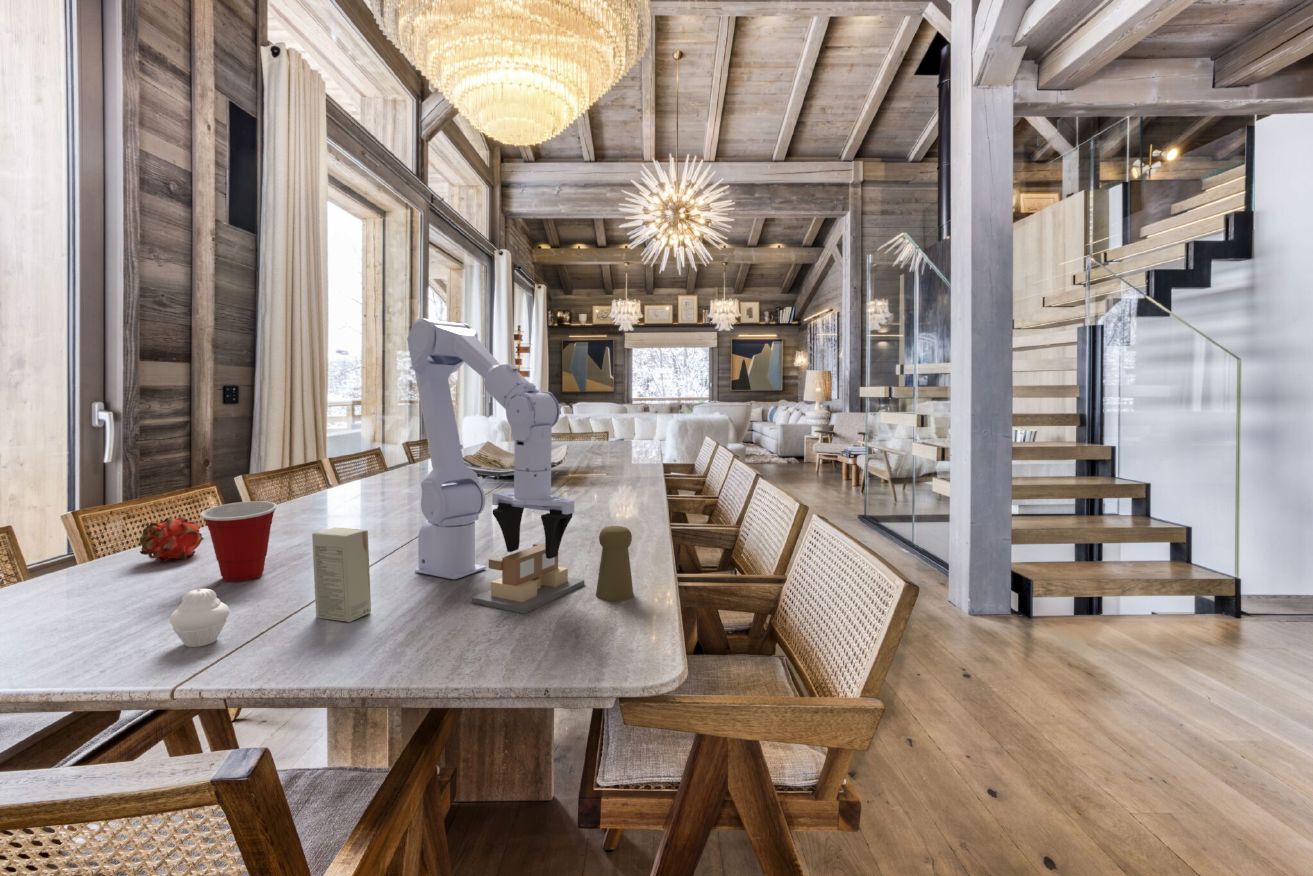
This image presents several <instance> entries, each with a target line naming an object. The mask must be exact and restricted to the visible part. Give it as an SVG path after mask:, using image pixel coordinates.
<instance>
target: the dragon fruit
mask: <svg viewBox="0 0 1313 876" xmlns="http://www.w3.org/2000/svg"><path fill="white" fill-rule="evenodd" d="M202 540H203V541H204V540H205V538H204V537H203V534H202V533H201V532H200V526H199V524H198V522H197V521H189V520H188V519H187V518H186V517H185V516H179V517H177V518H176V519H174V518H170V517H166V518H165V519H163V520H160V521H159V522H158V521H153V522H150V523H149V524H148V525H147V526H145V528H143V531H142V533H141V535H140V537H139V544H140V545H141V550H139V552H140V554H142V555H146V556H148V557H149V559H155V560H156V561H158V562H160V563H166V562H167V561H168V560H169V559H176V560H179V559H182V560H185V559H186V558H188V557H193V556H194V555H195V554H196V549H198V547H199V546H200V545H201V542H202Z"/></svg>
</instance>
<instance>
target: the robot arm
mask: <svg viewBox="0 0 1313 876" xmlns="http://www.w3.org/2000/svg"><path fill="white" fill-rule="evenodd" d="M478 336H479V335H478V332H477V331H476V330H475V329H473V327H471V325H470V324H468V323H465V322H460V323H459V322H449V321H443V320H442V321H441V320H432V319H428V318H424V317H422V318H418V319H417V320H415V321H414V323H413V324H412V326H411V329H410V331H409V333H408V336H407V338H406V339H407V345H408V350H409V356H410V362H411V367H412V370H413V371H414V373H415V380H416V386H417V391H418V395H419V402H420V407H421V413H422V417H423V419H422V420H423V425H424V430H425V436H426V440H427V445H428V450H429V451H428V452H429V456H430V461H431V468H432V470H431V471H430V472H429V474H428V475H426V477H425V478H423V479H422V481H421V482H420V488H421V499H420V509H421V512H422V514H423V516H424V519H425V520H427V521H426V522H424V523H423V524H422V526H421V527H420V529H419V533H418V539H417V541H418V542H417V545H418V547H417V548H418V550H417V551H418V567H417V568H415V569H414V572H415V573H419V574H424V575H430V576H434V577H438V578H439V577H441V578H445V579H450V580H458V579H460V578H463V577H466V576H469V575H472V574H475V573H477V572H480V571H483V570H486V568H487V566H486V565H483V564H477V563H476V521H479V515H481V513H483V512H484V509H485V505H486V494H485V491H484V489H483V487H482V486H481V484H480V481H479V477H478V474H477V472H475V470H473V469H471V468H470V467H468V466H467V465H466V464H465V462H464V457H463V451H462V447H461V441H460V436H459V429H458V426H457V424H458V423H457V420H456V419H457V418H456V415H455V408H454V405H453V404H454V403H453V400H452V399H453V398H452V393H451V392H452V391H451V388H450V382H449V379H450V376H451V375H452V374H454V373H455V372H457V371H458V370H459V369H460V368H461V366H462V365H463V364H464V363H465V364H466V365H468V367H470V368H471V369H472V370H473V371H474V372H476V373H477V374H478V375H479V376H481V377H482V378H483V379H484V381H483V385H484V389H485V390H486V392H487V393H488V394H489V395H490V396H491V397H492V398H493V399H494V400H495V401H497V403H498V404H499V405H500V406H502V407H503V408H504V410H505V415H506V420H507V423H508V425H509V426H510V431H511V434H510V435H511V436H510V437H512V440H513V441H514V449H513V451H514V453H513V454H514V455H513V456H514V457H513V458H514V460H513V461H514V462H513V463H514V466H513V467H514V469H513V486H514V487H513V491H512V492H511V491H509V492H508V491H496V492H493V493H492V501H491V502H492V505H493V506H497V507H496V508H494V509H492V515H493V517H494V518H495V520H496V521H497V523H498V525H499V527H500V530H501V533H502V536H503V539H504V542H505V546H506V547H505V548H506V551H507V552H508V553H513V552H515V551H518V550H519V549H520V541H521V540H520V538H521V533H520V532H521V523H522V518H523V514H524V510H525V509H531V510H538V511H544V512H545V511H546V512H548V513H544V514H541V515H540V519H541V523H542V525H543V530H544V537H545V538H544V539H545V540H544V543H545V553H546V558H548V559H551V558H554V557H556V556H557V555H558V556H559V551H560V550H559V549H560V546H561V542H562V539H563V537H564V533H565V532H566V529H567V527H568V525H569V523H570V522H571V519H572V518H573V513H575V500H574V499H567V498H563V497H559V496H554V495H552V440H553V439H552V436H553V435H552V433H553V432H552V431H553V429H552V428H553V427H555V425H556V424H557V423H558V421H559V418H560V413H561V412H560V411H561V410H560V409H561V408H560V403H559V401H558V400H557V398H556V397H555V395H554V394H553V393H552V392H550V391H541V390H540V389H537V388H536V385H535V384H534V383H533V382H530V381H528V380H527V379H526V378H525V377H524V376H523V375H522V374H521V373H520V372H519V370H520V369H519V367H518V366H517V365H516V364H509V363H501V364H500V362H499V361H498V360H497V359H496V358H495V356H493V354H492V353H491V352H490V351H489V350H488V349H487V348H486V346H484V344H483V343H482V342H481V341H480V340H479V337H478Z"/></svg>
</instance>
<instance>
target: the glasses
mask: <svg viewBox="0 0 1313 876" xmlns="http://www.w3.org/2000/svg"><path fill="white" fill-rule="evenodd" d="M558 567H559V554H558V555H557V556H556V557H554V558H551V559H548V558H546V553H545V542H544V543H536V542H535V543H533V544H532V546H531V547H529V548H526V549H523V550H519V551H517V552H514V553H511V554H508V555H506V556H502V558H501V559H499V558H494V557H493V558H491V557H490V558H488V569H490V570H495V571H501V572H502V573H501V578H502V583H503V584H508V585H513V586H517V585H520V584H522V583H524V582H527V581H529V580H531V579H534V578H536V577H539V576H541V575H543V574H546V573H548V572H551V571H553V570H555V569H558Z"/></svg>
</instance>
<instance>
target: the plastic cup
mask: <svg viewBox="0 0 1313 876" xmlns="http://www.w3.org/2000/svg"><path fill="white" fill-rule="evenodd" d="M277 506H278V504H276V503H275V502H273V501H264V500H262V501H261V500H260V501H259V500H257V501H255V500H254V501H252V500H251V501H240V502H239V501H238V502H232V503H226V504H220V505H217V506H213V507H210V508H207V509H204V510H203V511H201V513H200V514H199V515H200V517H201V518H203V520H204V522H205V525H206V526H207V530H208V531H209V534H210V537H211V538H210V539H211V542H212V546H213V550H214V554H215V558H216V561H217V563H218V568H219V572H220V576H221V578H222V580H223V581H224V582H237V583H238V582H245V581H250V580H251V581H252V580H255V579H258V578H260V577H262V576H263V574H264V573H263V572H264V570H265V564H266V558H267V557H266V556H267V554H268V547H269V540H270V534H271V527H272V524H273V523H272V522H273V518H274V514H275V511H276V510H277Z"/></svg>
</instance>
